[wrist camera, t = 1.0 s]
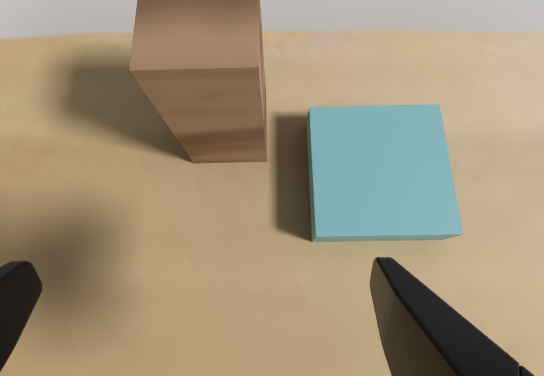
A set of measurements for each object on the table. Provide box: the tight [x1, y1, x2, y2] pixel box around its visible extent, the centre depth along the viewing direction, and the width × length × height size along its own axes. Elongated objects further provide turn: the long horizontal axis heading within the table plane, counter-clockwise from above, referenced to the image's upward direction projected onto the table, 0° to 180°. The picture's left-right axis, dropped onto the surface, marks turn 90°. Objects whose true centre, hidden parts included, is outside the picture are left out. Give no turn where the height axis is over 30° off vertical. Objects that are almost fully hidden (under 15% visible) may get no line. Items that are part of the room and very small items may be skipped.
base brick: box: [306, 105, 463, 242], centre depth 23 cm, size 9×9×3 cm
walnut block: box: [129, 0, 267, 163], centre depth 20 cm, size 6×6×11 cm
